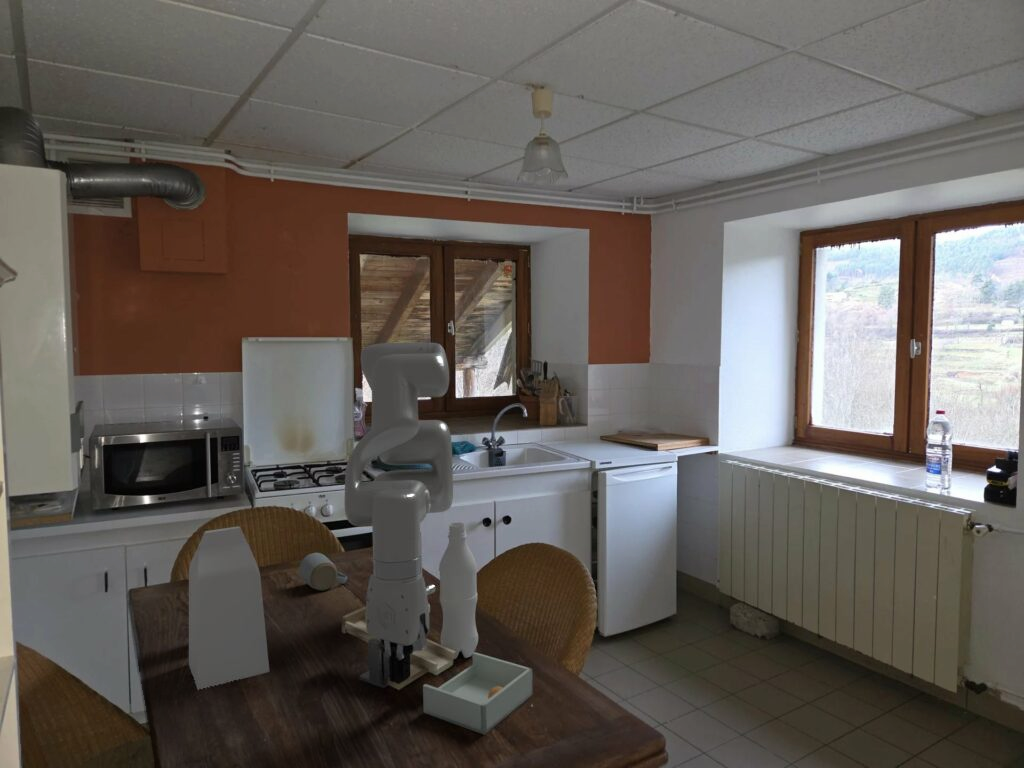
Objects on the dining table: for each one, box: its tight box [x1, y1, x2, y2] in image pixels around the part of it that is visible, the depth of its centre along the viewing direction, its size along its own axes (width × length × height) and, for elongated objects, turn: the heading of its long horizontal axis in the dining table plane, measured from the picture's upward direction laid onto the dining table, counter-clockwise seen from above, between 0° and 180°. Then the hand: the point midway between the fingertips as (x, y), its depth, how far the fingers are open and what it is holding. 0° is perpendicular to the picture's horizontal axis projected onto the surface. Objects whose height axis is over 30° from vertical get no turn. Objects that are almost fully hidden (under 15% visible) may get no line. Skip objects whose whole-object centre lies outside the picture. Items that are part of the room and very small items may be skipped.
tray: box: [422, 651, 534, 736], centre depth 114 cm, size 14×12×4 cm
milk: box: [188, 525, 270, 691], centre depth 128 cm, size 12×12×26 cm
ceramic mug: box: [298, 552, 348, 592], centre depth 171 cm, size 11×8×8 cm
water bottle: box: [438, 522, 479, 660], centre depth 132 cm, size 7×7×25 cm
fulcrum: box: [358, 639, 412, 689], centre depth 125 cm, size 6×9×7 cm, turn 147°
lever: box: [341, 606, 456, 691], centre depth 121 cm, size 22×12×3 cm, turn 57°
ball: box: [488, 686, 502, 699], centre depth 112 cm, size 3×3×3 cm
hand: (400, 679), depth 112 cm, fingers closed
